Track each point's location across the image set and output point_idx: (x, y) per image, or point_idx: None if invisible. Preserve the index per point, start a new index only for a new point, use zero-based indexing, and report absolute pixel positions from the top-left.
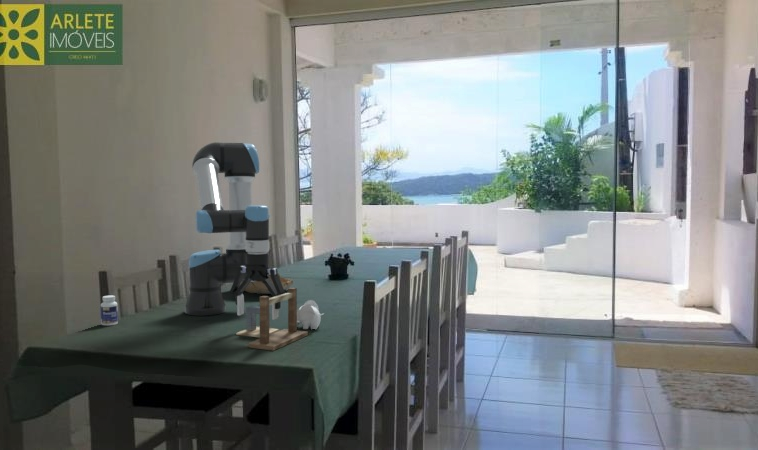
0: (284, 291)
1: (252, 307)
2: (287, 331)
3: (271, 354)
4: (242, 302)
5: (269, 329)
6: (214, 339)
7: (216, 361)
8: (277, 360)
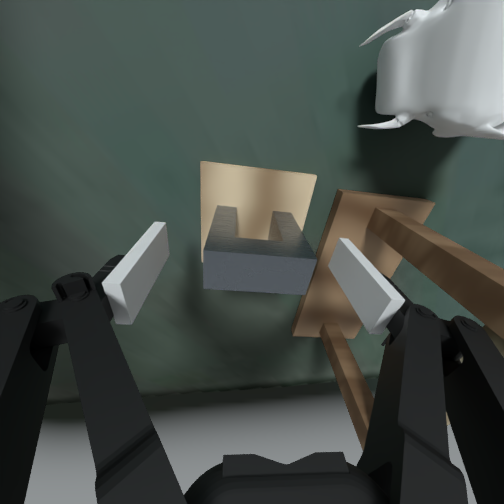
0: (495, 351)
1: (239, 289)
2: (362, 223)
3: (351, 346)
4: (145, 265)
5: (282, 192)
6: (182, 306)
7: (275, 384)
8: (368, 362)
